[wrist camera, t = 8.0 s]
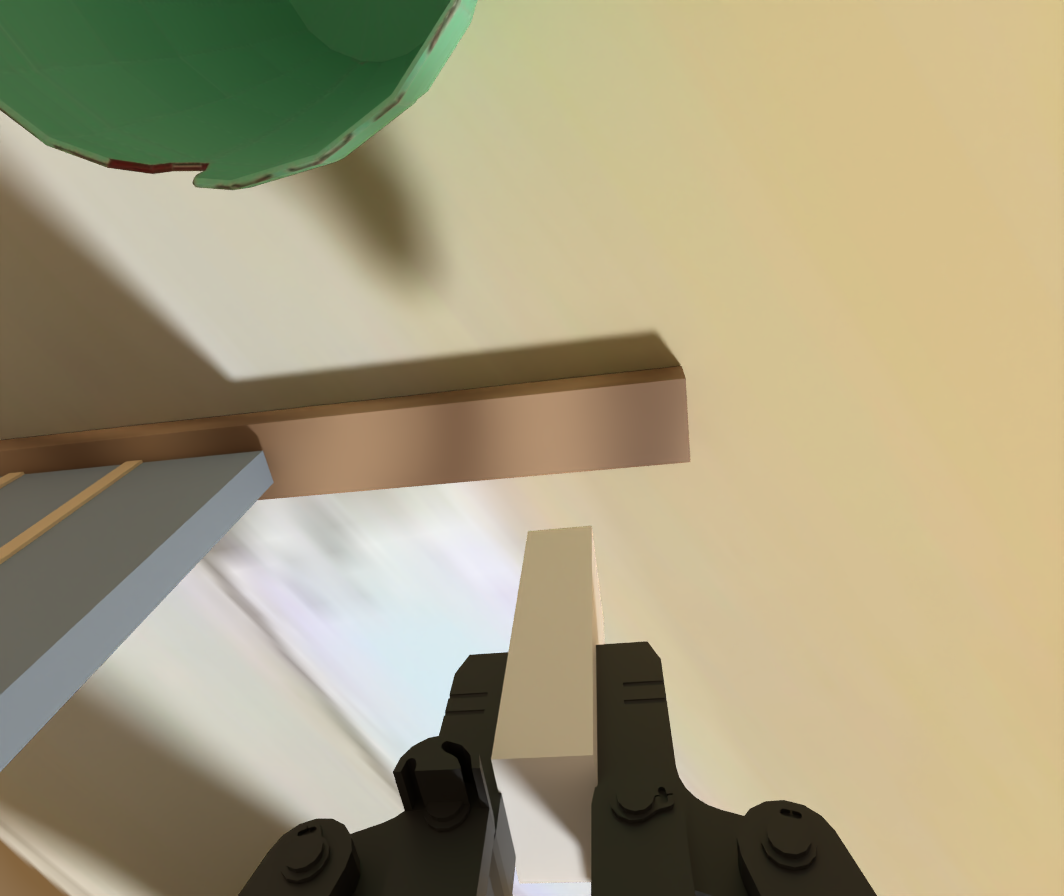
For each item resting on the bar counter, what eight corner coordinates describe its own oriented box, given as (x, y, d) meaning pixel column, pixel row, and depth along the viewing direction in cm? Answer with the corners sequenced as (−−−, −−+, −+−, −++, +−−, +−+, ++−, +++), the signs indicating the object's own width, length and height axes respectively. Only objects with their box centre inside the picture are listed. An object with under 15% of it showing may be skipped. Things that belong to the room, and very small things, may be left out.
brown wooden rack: (-101, 518, 27) (-713, 853, 15) (-140, 455, 26) (-840, 760, 13) (686, 445, 23) (788, 846, 10) (681, 366, 21) (790, 702, 9)
